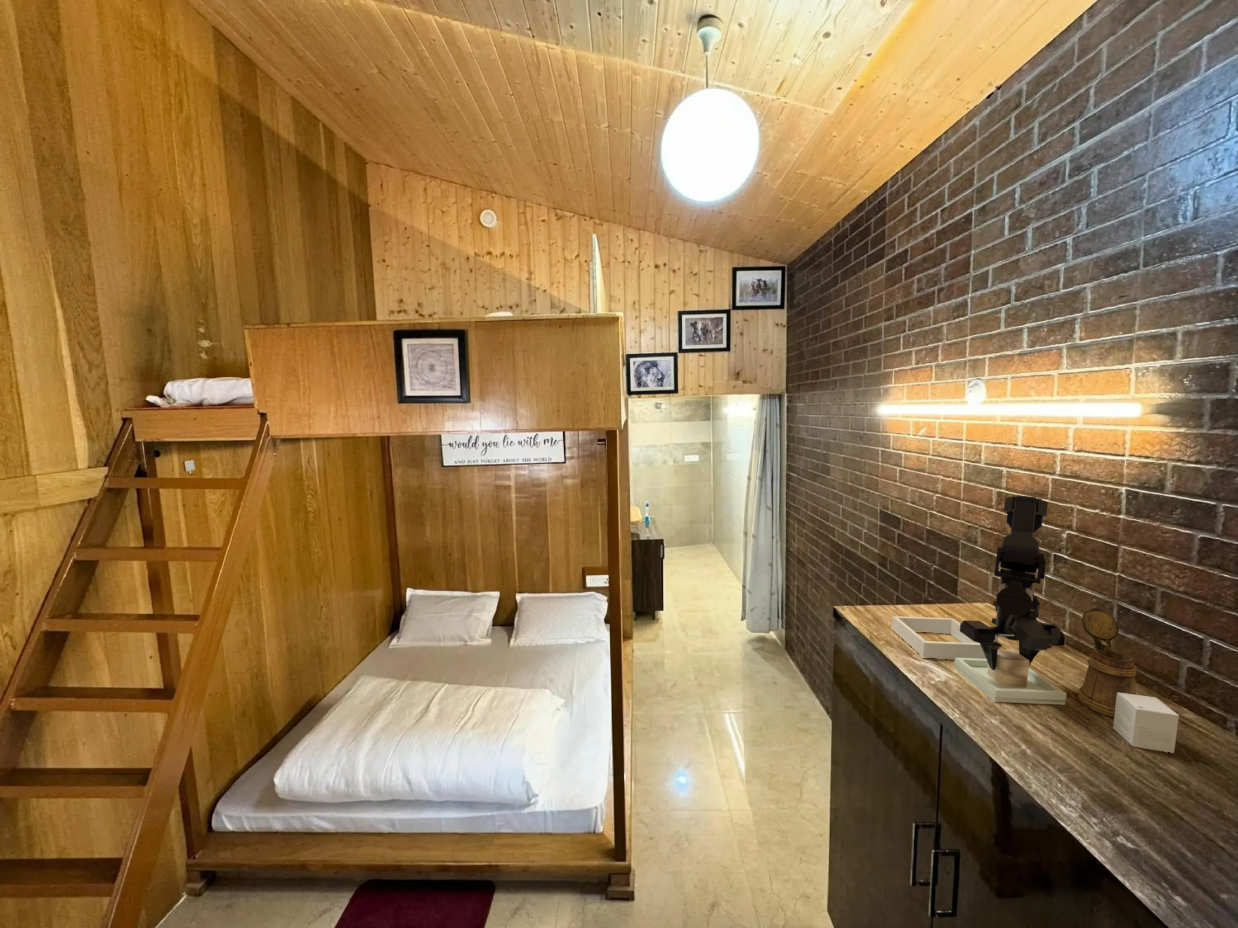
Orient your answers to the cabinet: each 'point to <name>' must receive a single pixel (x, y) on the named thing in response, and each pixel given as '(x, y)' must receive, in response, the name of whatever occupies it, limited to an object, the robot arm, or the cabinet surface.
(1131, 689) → the wooden mug
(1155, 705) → the product box
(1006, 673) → the birch block
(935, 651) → the white square frame
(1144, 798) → the cabinet surface
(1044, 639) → the robot arm
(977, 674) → the sage tray
